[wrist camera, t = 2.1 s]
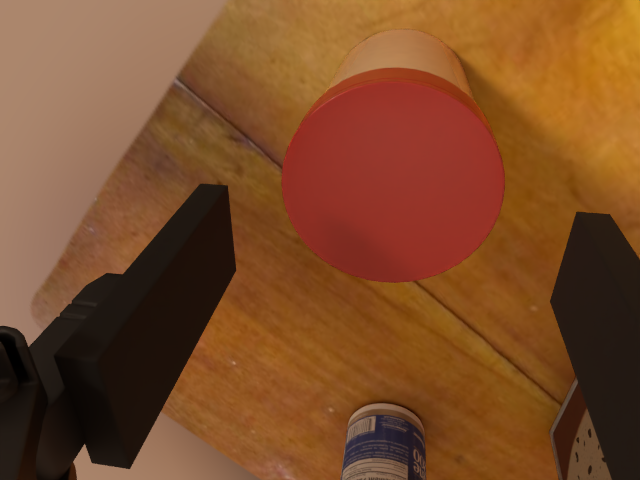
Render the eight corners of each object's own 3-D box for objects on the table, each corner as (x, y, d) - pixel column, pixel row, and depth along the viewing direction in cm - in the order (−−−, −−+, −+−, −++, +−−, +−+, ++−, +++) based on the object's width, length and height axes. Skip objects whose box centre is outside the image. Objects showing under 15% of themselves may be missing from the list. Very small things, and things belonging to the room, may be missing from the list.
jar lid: (292, 247, 20) (282, 273, 18) (287, 62, 16) (274, 76, 15) (478, 263, 19) (484, 292, 17) (516, 71, 15) (526, 86, 14)
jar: (330, 159, 27) (293, 261, 19) (332, 26, 23) (288, 80, 15) (458, 167, 26) (477, 278, 18) (479, 30, 22) (514, 90, 14)
